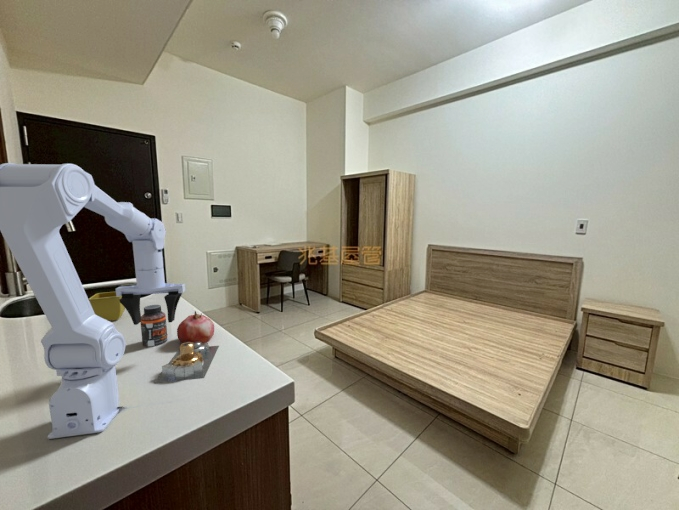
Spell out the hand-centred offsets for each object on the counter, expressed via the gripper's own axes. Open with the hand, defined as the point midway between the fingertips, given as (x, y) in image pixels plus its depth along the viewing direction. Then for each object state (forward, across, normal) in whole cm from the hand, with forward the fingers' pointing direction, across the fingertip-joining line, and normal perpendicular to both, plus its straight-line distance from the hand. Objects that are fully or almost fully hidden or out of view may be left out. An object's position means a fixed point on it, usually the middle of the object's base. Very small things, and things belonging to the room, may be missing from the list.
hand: (154, 322), depth 71 cm
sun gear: (+9, -9, 0) cm, 13 cm away
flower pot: (+10, +28, -35) cm, 46 cm away
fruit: (+10, -7, -8) cm, 15 cm away
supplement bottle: (+10, +4, -9) cm, 14 cm away
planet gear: (+9, -9, +7) cm, 14 cm away
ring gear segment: (+9, -9, +11) cm, 17 cm away
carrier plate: (+10, -9, +5) cm, 14 cm away
